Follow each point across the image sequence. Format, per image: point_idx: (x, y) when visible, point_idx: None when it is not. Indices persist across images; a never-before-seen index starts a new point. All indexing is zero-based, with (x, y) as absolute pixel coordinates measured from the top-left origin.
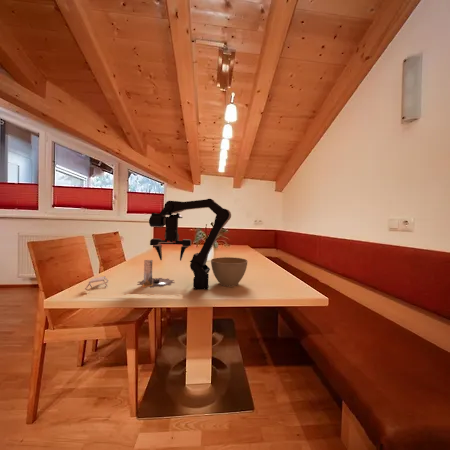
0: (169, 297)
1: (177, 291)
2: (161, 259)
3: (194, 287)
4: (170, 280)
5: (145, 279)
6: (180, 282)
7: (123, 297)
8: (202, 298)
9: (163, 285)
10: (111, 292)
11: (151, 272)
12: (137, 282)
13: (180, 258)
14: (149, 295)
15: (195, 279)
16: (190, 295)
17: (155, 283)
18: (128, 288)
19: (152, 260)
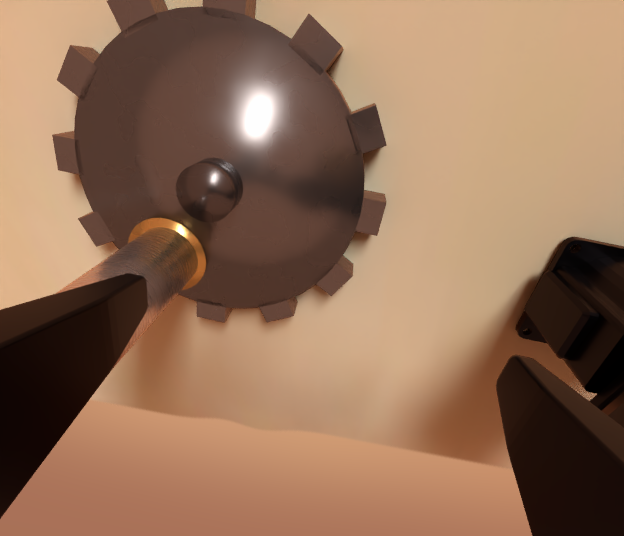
0: (334, 421)
1: (387, 344)
2: (140, 306)
3: (527, 319)
4: (345, 128)
5: None
6: (455, 87)
7: (110, 379)
8: (503, 464)
9: (287, 290)
10: (2, 296)
11: (142, 333)
12: (59, 169)
13: (513, 435)
14: (227, 377)
15: (567, 360)
16: (452, 418)
17: (216, 224)
18: (52, 230)
19: None
